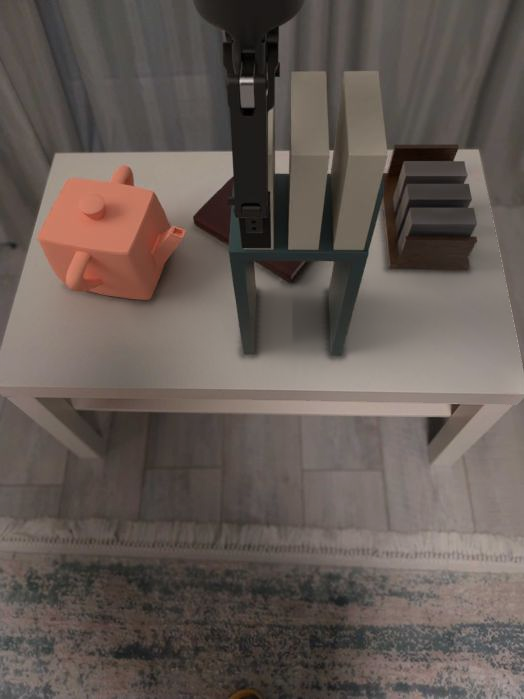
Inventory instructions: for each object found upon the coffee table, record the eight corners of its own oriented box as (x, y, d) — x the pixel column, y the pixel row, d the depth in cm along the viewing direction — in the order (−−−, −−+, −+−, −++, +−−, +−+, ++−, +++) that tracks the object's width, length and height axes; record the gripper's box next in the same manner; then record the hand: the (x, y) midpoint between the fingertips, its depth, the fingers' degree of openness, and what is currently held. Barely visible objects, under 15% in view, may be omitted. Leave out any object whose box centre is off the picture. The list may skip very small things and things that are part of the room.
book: (289, 286, 76) (290, 274, 73) (194, 227, 81) (191, 214, 78) (334, 233, 80) (337, 220, 77) (241, 181, 86) (240, 166, 83)
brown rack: (467, 269, 76) (490, 231, 68) (388, 269, 77) (402, 231, 69) (450, 177, 85) (468, 133, 76) (379, 177, 85) (390, 134, 77)
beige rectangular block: (243, 249, 50) (234, 155, 39) (247, 175, 54) (240, 71, 43) (273, 249, 49) (272, 155, 39) (275, 175, 54) (274, 71, 43)
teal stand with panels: (338, 292, 75) (384, 68, 43) (341, 355, 71) (394, 157, 38) (246, 291, 76) (222, 69, 43) (243, 354, 71) (214, 158, 39)
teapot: (49, 314, 75) (3, 259, 62) (101, 204, 84) (70, 137, 72) (174, 338, 73) (153, 286, 60) (214, 222, 82) (202, 156, 69)
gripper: (311, 68, 24) (297, 297, 43) (306, -162, 35) (296, 103, 54) (159, 69, 25) (211, 296, 44) (201, -159, 35) (228, 103, 54)
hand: (258, 189), depth 49 cm, fingers open, 13 cm apart
